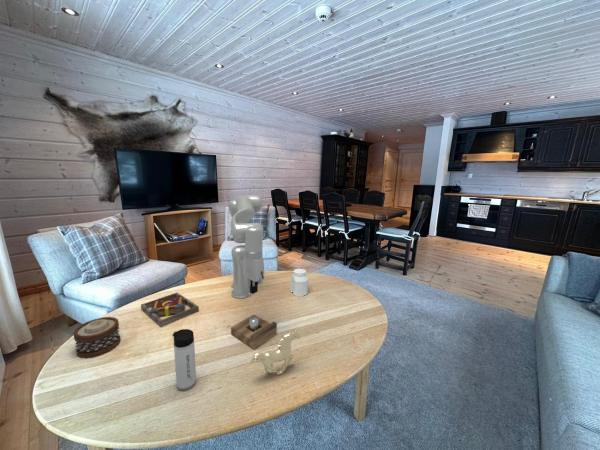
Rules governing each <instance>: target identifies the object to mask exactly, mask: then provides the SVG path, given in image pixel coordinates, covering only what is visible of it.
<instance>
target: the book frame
mask: <svg viewBox="0 0 600 450" xmlns="http://www.w3.org/2000/svg"><path fill="white" fill-rule="evenodd" d="M174 297H178V298H179V297H184V300H185V301H184V302H185V303H184V305H185V306H186V307H188V309H184V310H185V311H183V312H180V313H178V314H173V315H169V316H167V317H165V318H163V319H162V318H161V317H158V316H157V315H156V314H155V313H150V310H151V308H152V306H153V303H154V301H160V300H162V299H164V300H166V299H172V298H174ZM199 309H200V308H199V306H198V305H197V304H196V303H194V302H193V301H192V300H190V299H188V298H186V297H185V296H183V295H182V294H180V293H179V292H175V293H172V294H168V295H165V296H162V297H159V298H156V299H154V300H151V301H148V302H143V303H141V304H140V310H141V311H142V312H143V313H145V315H147V316H148V317H149V318H150V320H152V321H153V322H154V323H156V325H158V326H159V327H160V328H163V327H165V326H167V325H169V324H172V323H175V322H177V321H180V320H182V319H183V318H184V319H185V318H186V317H189V316H191V315H193V314H196V313H198V312H200V311H199Z"/></svg>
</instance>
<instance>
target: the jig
mask: <svg viewBox="0 0 600 450" xmlns="http://www.w3.org/2000/svg"><path fill="white" fill-rule="evenodd" d="M251 317H257V318H258V330H256V331H254V332H252V331H251V330H250V318H251ZM277 327H278V324H277V322H275V321H272V322H271V323H270V322H268V321H267V320H264V319H263V318H261V317H259V316H257V315H256V314H253V315H251V316H249V317H247V318H245V319H243V320H241V321H239V322H238V323H236V324H234V325H232V326H231V327H230V335H231V336H232V337H234V338H236V339H237V340H238V341H240V342H241V343H243V344H244V345H245V346H247V347H249V348H250V349H251V350H256V349H258V348H259V347H261V346H262V345H264V344H265V343H266V342H269V340H271V339H272V338H274V337H276V335H277V334H278V333H277V332H278V331H277V329H278V328H277Z"/></svg>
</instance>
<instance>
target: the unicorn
mask: <svg viewBox="0 0 600 450" xmlns="http://www.w3.org/2000/svg"><path fill="white" fill-rule="evenodd" d="M297 331H298V326H297V327H296V329H295V331H294V330H293V329H291V332H288V333H286V334H285V335H283V336H282V338H281V339H279V341H278V343H277V345H276V348H277V349H276V350H273V351H270V350H269V351H265V352H264V353H263V352H257V353H255V354H254V355H253V356H252V357H251V360H250V362H249V364H251V365H252V364H255V363H261V364H262V365H263V369H264V371H265V372H266V373H269V374H272V373H276V375H277V376H279V375H282V374H283V372H285V370H286V369H287V367H288V366H289V365H290V364H291V362H292V361H293V359H294V354H292V353H291V352H292V341H293V340H300V338H301V335H299V334H297ZM282 361H284V362H283V367H282V368H281V369H280V370H278V369H274V368H273V367H274V363H279V362H282Z"/></svg>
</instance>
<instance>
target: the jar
mask: <svg viewBox="0 0 600 450" xmlns="http://www.w3.org/2000/svg"><path fill="white" fill-rule="evenodd" d="M292 273H293V274H292V275H291V276H290V291H291V292H293V293H292V294H294V295H296V296H302V295H306V294H307V293H309V291H308V289H309V277H308V275H307V271H306V269H304V268H295V269H293V272H292ZM291 292H290V293H291ZM294 295H293V296H294ZM307 295H308V294H307ZM307 295H306V296H307ZM296 296H295V297H296Z"/></svg>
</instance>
